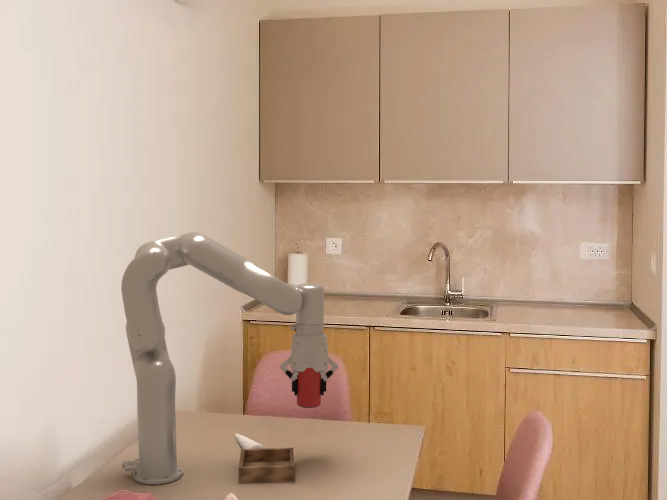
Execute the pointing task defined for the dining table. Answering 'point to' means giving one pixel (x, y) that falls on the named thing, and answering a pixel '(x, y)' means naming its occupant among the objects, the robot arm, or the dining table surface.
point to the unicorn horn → (248, 442)
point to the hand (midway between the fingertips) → (308, 393)
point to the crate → (266, 465)
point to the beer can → (309, 388)
